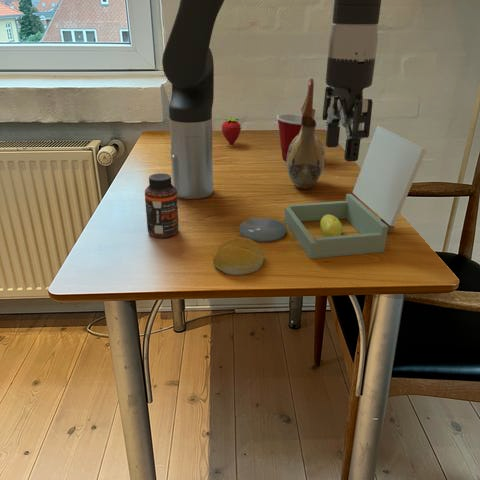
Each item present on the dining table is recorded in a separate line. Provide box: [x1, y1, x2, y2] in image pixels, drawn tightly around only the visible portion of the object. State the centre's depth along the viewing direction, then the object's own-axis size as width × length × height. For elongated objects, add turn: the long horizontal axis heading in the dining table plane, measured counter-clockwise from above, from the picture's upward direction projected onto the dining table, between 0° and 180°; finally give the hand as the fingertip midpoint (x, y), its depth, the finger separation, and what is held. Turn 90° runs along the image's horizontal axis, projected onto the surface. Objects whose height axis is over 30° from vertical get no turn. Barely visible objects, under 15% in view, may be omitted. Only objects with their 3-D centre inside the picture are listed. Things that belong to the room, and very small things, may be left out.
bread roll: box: [212, 236, 265, 276], centre depth 78 cm, size 8×9×4 cm
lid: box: [351, 125, 427, 227], centre depth 84 cm, size 14×16×1 cm
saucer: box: [239, 217, 287, 243], centre depth 89 cm, size 9×9×1 cm
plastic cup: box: [276, 113, 317, 162], centre depth 129 cm, size 11×11×12 cm
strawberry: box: [221, 117, 242, 146], centre depth 141 cm, size 6×8×10 cm
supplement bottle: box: [144, 172, 180, 239], centre depth 86 cm, size 6×6×11 cm
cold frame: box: [283, 193, 388, 260], centre depth 87 cm, size 14×16×5 cm
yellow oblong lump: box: [319, 214, 344, 237], centre depth 87 cm, size 4×8×4 cm, turn 174°
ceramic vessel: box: [285, 78, 326, 190], centre depth 107 cm, size 16×9×25 cm, turn 173°
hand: (340, 153), depth 81 cm, fingers open, 8 cm apart
